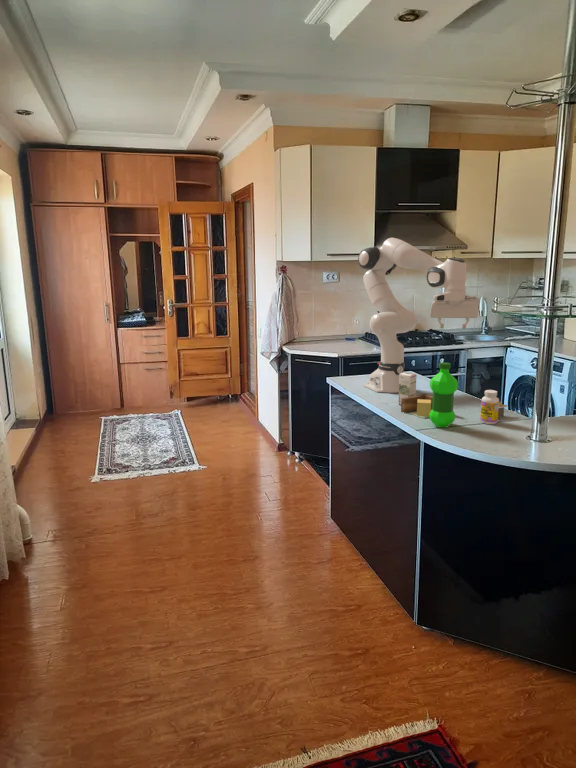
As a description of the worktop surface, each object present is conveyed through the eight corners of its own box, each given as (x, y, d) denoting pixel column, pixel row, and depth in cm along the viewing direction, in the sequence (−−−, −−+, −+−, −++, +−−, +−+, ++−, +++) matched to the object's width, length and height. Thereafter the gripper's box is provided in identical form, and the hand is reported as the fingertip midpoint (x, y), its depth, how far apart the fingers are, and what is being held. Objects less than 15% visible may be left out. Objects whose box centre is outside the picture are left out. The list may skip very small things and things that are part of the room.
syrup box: (416, 404, 252) (417, 373, 248) (409, 407, 247) (410, 375, 244) (404, 402, 255) (406, 371, 252) (397, 405, 251) (398, 373, 248)
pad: (410, 413, 237) (410, 413, 237) (423, 410, 241) (423, 410, 241) (423, 418, 231) (423, 417, 231) (437, 415, 235) (437, 414, 235)
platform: (467, 416, 234) (467, 401, 233) (501, 411, 241) (502, 396, 239) (486, 424, 224) (487, 408, 222) (522, 418, 230) (523, 403, 228)
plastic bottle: (444, 431, 214) (447, 367, 208) (422, 424, 223) (425, 363, 217) (460, 426, 220) (464, 363, 214) (439, 420, 228) (442, 359, 223)
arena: (400, 411, 241) (401, 398, 239) (423, 407, 247) (424, 393, 246) (427, 420, 228) (427, 406, 226) (450, 415, 234) (451, 401, 233)
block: (417, 411, 239) (417, 399, 238) (430, 412, 238) (430, 399, 237) (416, 415, 234) (417, 402, 233) (430, 415, 233) (430, 403, 231)
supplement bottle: (476, 422, 225) (478, 391, 222) (485, 418, 229) (488, 388, 226) (491, 425, 220) (493, 394, 217) (500, 422, 224) (503, 391, 221)
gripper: (479, 295, 242) (477, 327, 245) (430, 295, 247) (429, 326, 250) (480, 297, 236) (478, 329, 239) (430, 296, 241) (429, 328, 244)
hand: (452, 328), depth 245 cm, fingers open, 8 cm apart
